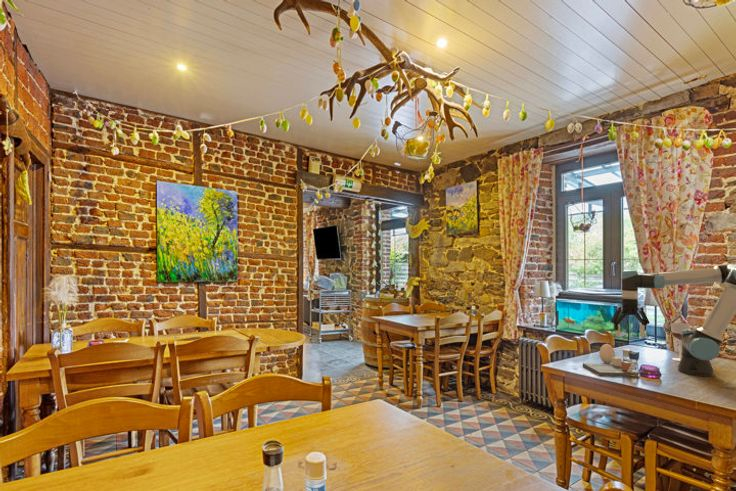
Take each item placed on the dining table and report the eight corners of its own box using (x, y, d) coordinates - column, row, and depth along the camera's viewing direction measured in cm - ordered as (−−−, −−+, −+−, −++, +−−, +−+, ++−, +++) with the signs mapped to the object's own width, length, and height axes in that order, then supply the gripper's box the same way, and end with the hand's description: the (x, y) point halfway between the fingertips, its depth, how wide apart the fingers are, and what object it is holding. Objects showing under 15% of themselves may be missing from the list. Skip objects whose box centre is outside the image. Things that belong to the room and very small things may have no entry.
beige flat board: (618, 367, 225) (618, 363, 225) (638, 377, 207) (638, 373, 208) (582, 366, 226) (582, 362, 226) (599, 376, 208) (599, 372, 208)
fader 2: (627, 368, 214) (627, 361, 214) (631, 371, 210) (631, 363, 210) (621, 368, 214) (621, 361, 214) (625, 370, 210) (625, 363, 210)
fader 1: (617, 364, 223) (617, 356, 223) (621, 366, 219) (621, 358, 219) (612, 364, 223) (612, 356, 223) (616, 366, 219) (616, 358, 219)
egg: (598, 361, 239) (598, 342, 239) (613, 362, 236) (613, 343, 236) (600, 364, 231) (600, 344, 232) (616, 366, 228) (616, 346, 229)
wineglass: (693, 361, 240) (693, 325, 240) (677, 361, 240) (677, 325, 240) (682, 357, 248) (682, 322, 249) (667, 357, 248) (666, 322, 249)
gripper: (647, 297, 225) (647, 335, 224) (603, 297, 225) (603, 334, 224) (657, 299, 217) (657, 337, 216) (611, 298, 217) (611, 337, 217)
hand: (630, 336), depth 220 cm, fingers open, 13 cm apart
